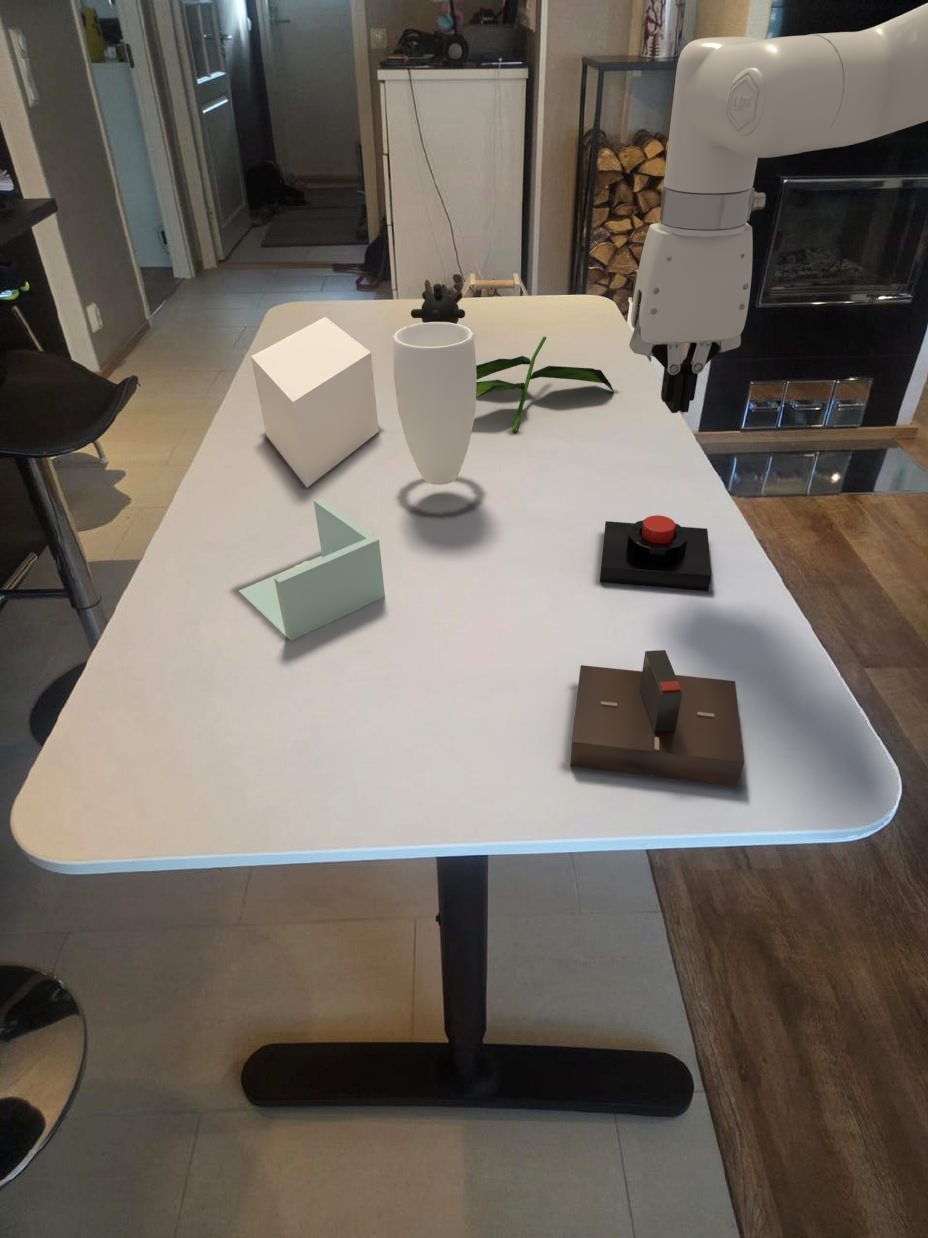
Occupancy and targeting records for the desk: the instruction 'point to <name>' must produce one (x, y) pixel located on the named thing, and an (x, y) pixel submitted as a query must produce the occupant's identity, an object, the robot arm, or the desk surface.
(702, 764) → the panel
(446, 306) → the toy ball
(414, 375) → the cup
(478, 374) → the plant
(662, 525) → the button
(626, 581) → the button block
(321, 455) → the block
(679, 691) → the handle
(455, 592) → the desk surface
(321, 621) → the right angle wall
